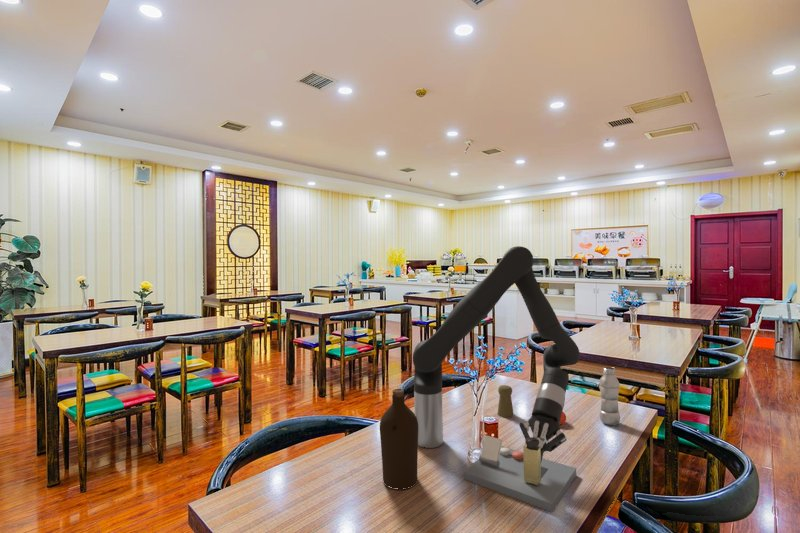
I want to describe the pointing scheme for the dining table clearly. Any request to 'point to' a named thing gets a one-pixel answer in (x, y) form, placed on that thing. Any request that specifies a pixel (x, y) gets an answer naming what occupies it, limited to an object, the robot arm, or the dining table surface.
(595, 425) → the dining table surface
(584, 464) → the dining table surface
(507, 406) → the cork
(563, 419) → the pumpkin
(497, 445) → the cream rectangular block
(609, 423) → the plastic bottle
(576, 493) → the dining table surface
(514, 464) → the control board
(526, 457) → the slide lever
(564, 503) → the dining table surface
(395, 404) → the olive oil
